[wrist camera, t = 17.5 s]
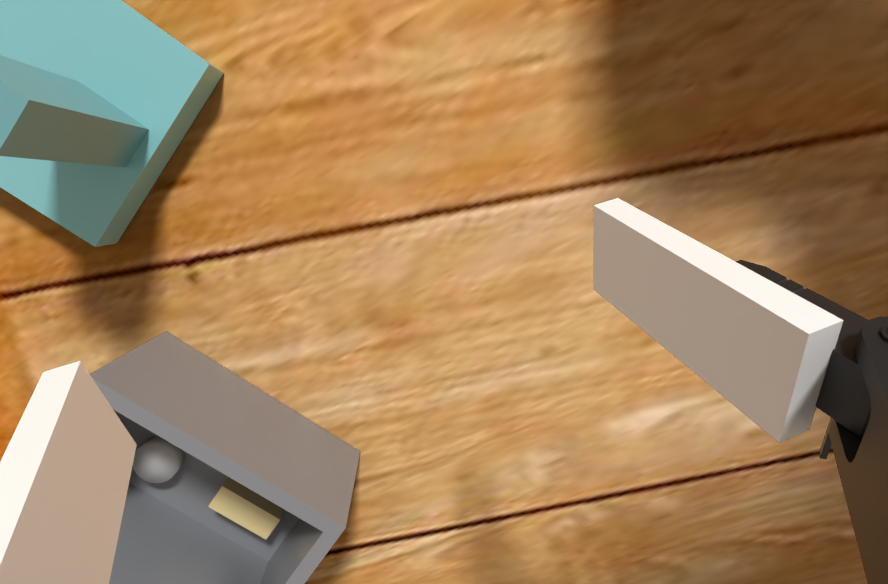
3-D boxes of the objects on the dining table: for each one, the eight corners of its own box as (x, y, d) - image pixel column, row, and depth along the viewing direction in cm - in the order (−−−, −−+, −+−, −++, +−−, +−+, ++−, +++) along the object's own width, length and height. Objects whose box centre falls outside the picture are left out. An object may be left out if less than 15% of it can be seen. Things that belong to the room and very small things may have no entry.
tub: (81, 459, 33) (-20, 541, 25) (166, 331, 32) (87, 375, 24) (275, 568, 35) (237, 674, 28) (360, 451, 34) (345, 527, 26)
